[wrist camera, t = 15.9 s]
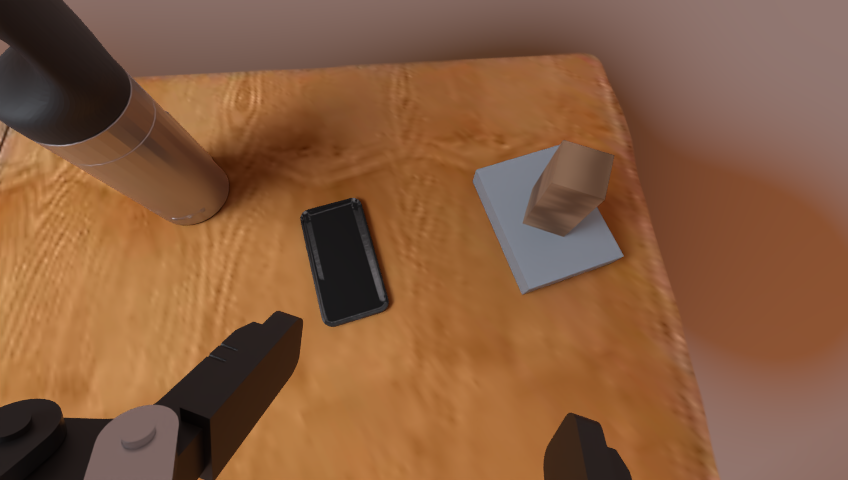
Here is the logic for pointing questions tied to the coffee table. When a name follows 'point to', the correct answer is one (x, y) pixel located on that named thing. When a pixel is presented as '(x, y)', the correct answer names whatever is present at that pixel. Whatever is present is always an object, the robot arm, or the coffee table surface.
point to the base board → (531, 247)
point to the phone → (343, 262)
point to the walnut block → (568, 188)
